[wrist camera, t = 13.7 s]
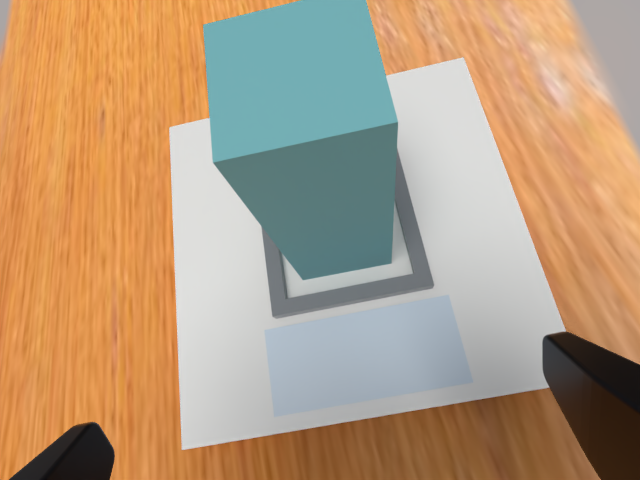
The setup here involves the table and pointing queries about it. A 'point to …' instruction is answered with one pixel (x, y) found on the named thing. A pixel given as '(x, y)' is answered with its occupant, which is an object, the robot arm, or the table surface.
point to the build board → (360, 287)
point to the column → (307, 130)
